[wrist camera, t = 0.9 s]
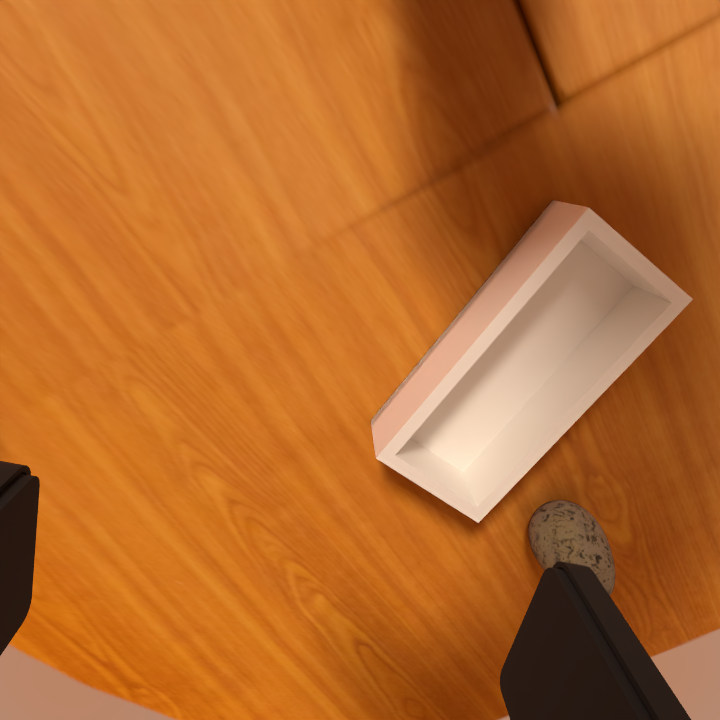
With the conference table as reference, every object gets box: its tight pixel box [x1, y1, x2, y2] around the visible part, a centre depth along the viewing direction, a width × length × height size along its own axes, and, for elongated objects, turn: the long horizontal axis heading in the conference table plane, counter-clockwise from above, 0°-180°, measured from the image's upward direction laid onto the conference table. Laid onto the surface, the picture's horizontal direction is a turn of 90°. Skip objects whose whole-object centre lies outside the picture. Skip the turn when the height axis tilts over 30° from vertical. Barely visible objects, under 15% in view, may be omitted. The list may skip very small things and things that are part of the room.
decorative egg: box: [529, 500, 615, 596], centre depth 45 cm, size 6×6×10 cm
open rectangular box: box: [371, 200, 693, 523], centre depth 41 cm, size 22×10×6 cm, turn 143°
